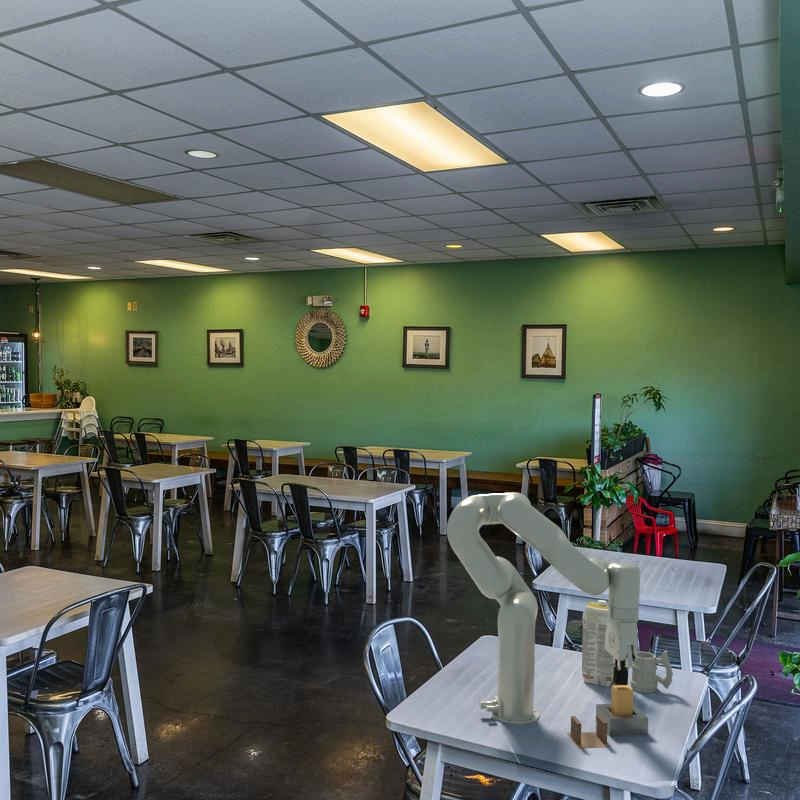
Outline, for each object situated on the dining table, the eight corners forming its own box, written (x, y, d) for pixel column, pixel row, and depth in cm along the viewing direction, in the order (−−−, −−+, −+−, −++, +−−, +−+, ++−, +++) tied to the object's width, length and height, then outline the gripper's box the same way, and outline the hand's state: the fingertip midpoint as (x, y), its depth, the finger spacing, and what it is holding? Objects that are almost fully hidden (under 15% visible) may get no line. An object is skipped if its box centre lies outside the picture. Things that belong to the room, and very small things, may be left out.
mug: (631, 681, 222) (631, 641, 222) (673, 688, 218) (674, 647, 218) (628, 691, 215) (629, 649, 215) (671, 698, 211) (672, 656, 211)
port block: (609, 739, 184) (610, 719, 184) (595, 723, 193) (596, 704, 193) (647, 737, 185) (648, 718, 185) (632, 722, 194) (632, 703, 194)
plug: (615, 729, 187) (616, 690, 187) (610, 724, 190) (611, 685, 190) (632, 728, 188) (633, 689, 188) (627, 723, 191) (628, 685, 191)
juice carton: (618, 680, 223) (619, 601, 223) (611, 689, 216) (612, 607, 216) (587, 674, 228) (589, 596, 227) (579, 682, 221) (581, 602, 221)
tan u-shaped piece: (578, 751, 177) (578, 727, 177) (566, 736, 185) (567, 713, 185) (611, 750, 178) (612, 726, 178) (598, 735, 186) (599, 712, 186)
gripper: (597, 603, 196) (595, 673, 196) (621, 621, 181) (618, 696, 181) (624, 604, 197) (622, 672, 197) (650, 621, 182) (647, 695, 182)
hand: (620, 683), depth 189 cm, fingers closed
